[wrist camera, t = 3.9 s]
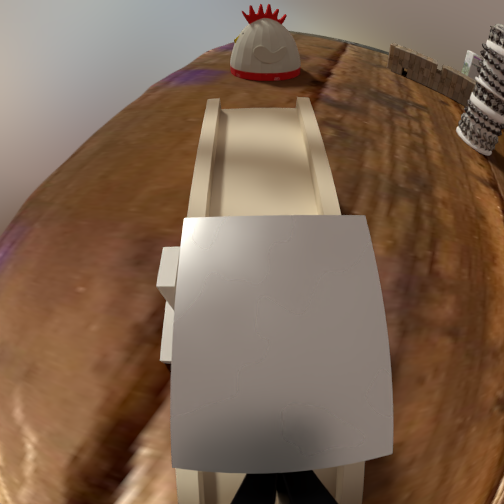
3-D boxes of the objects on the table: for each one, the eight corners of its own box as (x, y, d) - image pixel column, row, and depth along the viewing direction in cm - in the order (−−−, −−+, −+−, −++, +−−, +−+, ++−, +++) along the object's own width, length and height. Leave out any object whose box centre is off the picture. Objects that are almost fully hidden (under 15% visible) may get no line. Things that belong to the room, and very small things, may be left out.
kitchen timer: (229, 63, 50) (225, 3, 37) (290, 60, 50) (292, 3, 38) (233, 83, 42) (228, 7, 30) (308, 81, 43) (313, 8, 30)
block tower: (384, 72, 53) (484, 118, 43) (388, 45, 46) (493, 92, 36) (389, 67, 56) (480, 109, 46) (392, 42, 49) (488, 85, 39)
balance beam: (329, 499, 12) (357, 538, 6) (204, 503, 12) (183, 545, 7) (301, 149, 26) (308, 97, 20) (216, 151, 26) (207, 99, 20)
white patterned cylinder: (458, 122, 38) (489, 20, 17) (494, 148, 34) (532, 48, 13) (450, 132, 35) (486, 13, 14) (490, 163, 31) (537, 46, 10)
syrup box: (476, 97, 52) (488, 61, 40) (462, 90, 53) (473, 53, 41) (470, 90, 55) (481, 56, 43) (457, 84, 56) (467, 49, 44)
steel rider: (316, 416, 11) (392, 453, 4) (222, 420, 11) (172, 467, 4) (311, 306, 14) (364, 215, 6) (223, 308, 14) (184, 218, 6)
